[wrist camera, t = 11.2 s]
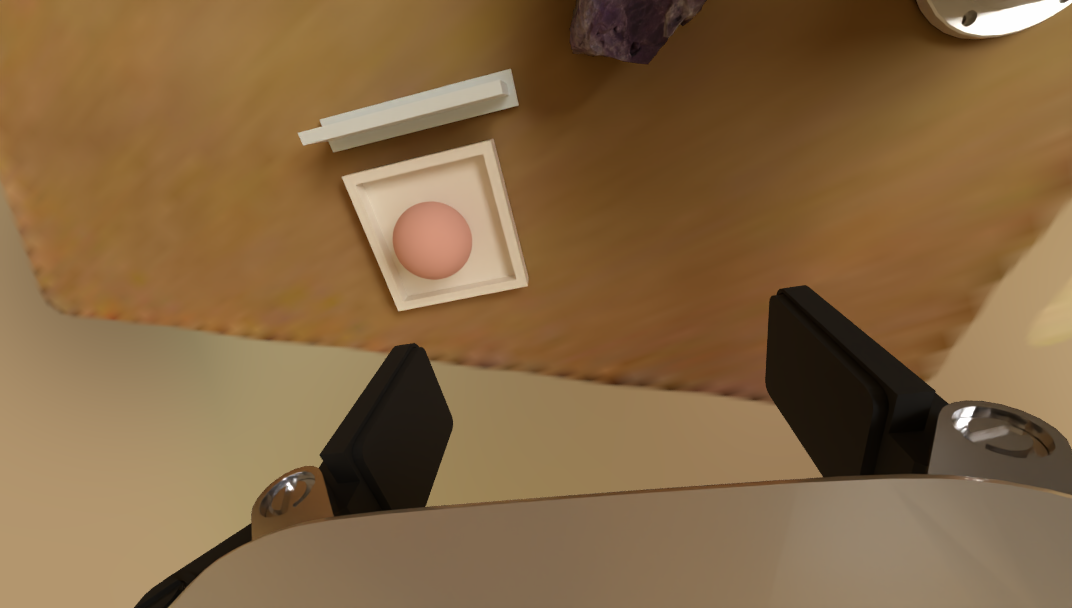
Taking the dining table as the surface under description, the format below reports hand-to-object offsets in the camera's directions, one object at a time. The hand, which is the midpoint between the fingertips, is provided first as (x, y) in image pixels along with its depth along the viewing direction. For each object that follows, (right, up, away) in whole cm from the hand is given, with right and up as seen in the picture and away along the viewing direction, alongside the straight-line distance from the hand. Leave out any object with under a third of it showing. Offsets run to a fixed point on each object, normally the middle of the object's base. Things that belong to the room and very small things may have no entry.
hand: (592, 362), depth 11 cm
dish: (-9, +8, +24) cm, 27 cm away
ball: (-9, +8, +23) cm, 26 cm away
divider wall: (-10, +16, +20) cm, 27 cm away
